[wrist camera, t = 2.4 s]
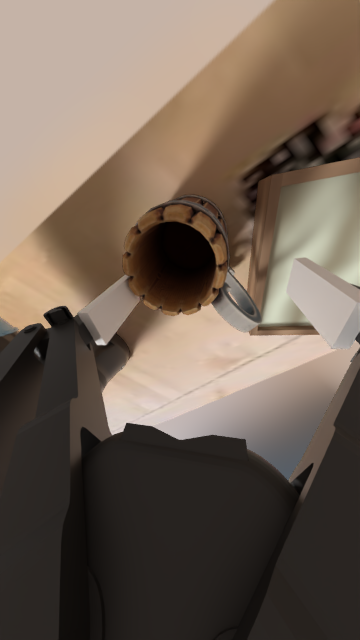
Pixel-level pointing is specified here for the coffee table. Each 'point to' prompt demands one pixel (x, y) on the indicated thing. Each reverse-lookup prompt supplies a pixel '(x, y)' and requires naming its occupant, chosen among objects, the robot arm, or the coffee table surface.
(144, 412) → the coffee table surface
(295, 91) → the coffee table surface
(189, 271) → the mug
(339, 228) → the framed mirror
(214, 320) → the coffee table surface
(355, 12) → the coffee table surface
